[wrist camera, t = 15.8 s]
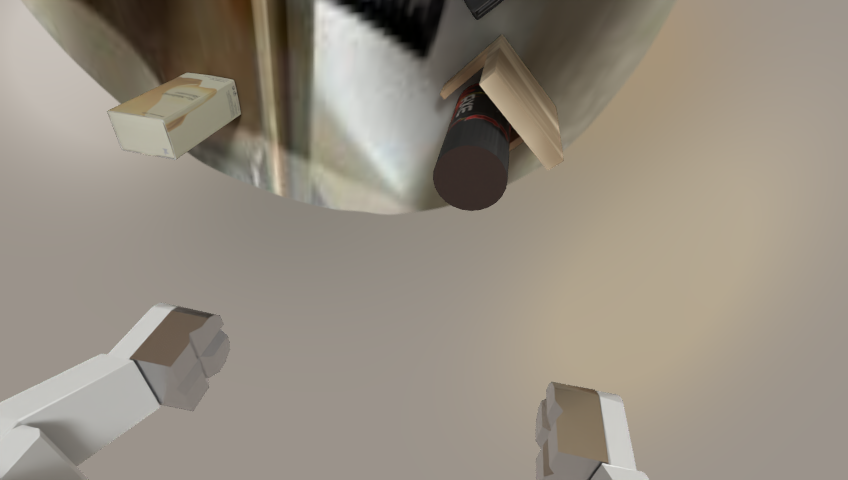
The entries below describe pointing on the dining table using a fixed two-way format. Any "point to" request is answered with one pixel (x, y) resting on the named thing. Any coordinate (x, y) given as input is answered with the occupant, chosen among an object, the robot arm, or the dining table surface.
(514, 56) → the rack
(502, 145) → the deodorant
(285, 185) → the dining table surface
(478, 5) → the bookend
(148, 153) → the skincare box
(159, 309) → the robot arm
